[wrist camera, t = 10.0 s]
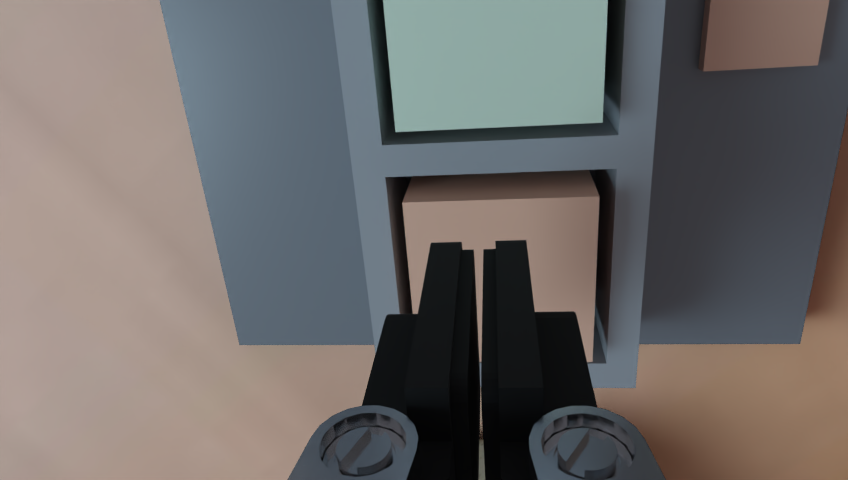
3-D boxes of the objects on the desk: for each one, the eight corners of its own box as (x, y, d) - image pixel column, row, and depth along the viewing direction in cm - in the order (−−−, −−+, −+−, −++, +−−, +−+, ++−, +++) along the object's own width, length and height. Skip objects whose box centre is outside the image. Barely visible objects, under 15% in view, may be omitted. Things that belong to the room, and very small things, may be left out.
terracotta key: (418, 159, 16) (402, 202, 13) (582, 152, 15) (599, 196, 13) (430, 297, 18) (417, 361, 15) (577, 295, 17) (592, 362, 14)
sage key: (398, -87, 14) (373, -95, 11) (589, -105, 13) (612, -118, 10) (414, 99, 15) (395, 132, 13) (583, 90, 15) (602, 122, 12)
